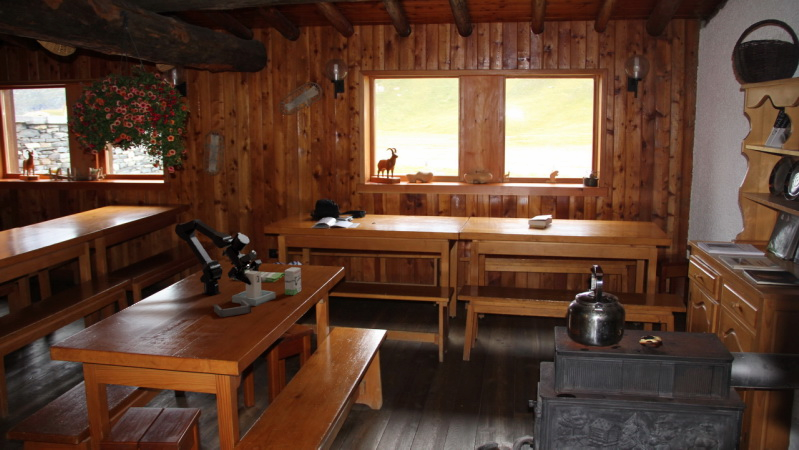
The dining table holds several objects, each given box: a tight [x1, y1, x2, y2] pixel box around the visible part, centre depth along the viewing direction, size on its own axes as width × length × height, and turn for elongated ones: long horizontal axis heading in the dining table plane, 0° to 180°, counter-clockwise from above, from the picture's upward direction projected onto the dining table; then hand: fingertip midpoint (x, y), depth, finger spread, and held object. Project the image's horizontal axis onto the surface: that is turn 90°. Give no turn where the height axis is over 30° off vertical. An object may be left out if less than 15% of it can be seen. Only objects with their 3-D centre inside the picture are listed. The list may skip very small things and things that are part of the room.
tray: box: [231, 289, 276, 307], centre depth 309 cm, size 14×14×3 cm
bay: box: [213, 300, 252, 318], centre depth 291 cm, size 11×13×3 cm
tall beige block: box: [245, 271, 262, 299], centre depth 308 cm, size 6×5×12 cm
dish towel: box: [232, 269, 285, 283], centre depth 351 cm, size 17×23×4 cm
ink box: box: [284, 266, 302, 296], centre depth 320 cm, size 9×5×12 cm, turn 163°
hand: (255, 282), depth 307 cm, fingers open, 7 cm apart
